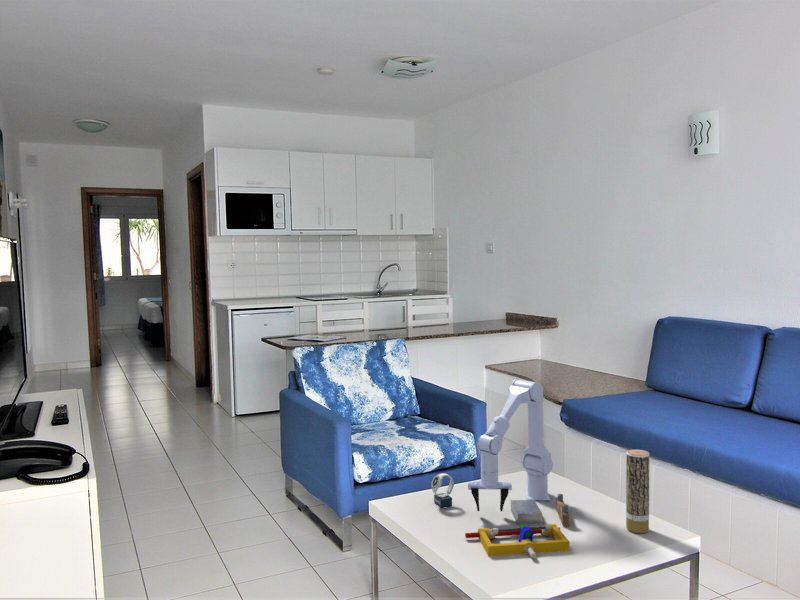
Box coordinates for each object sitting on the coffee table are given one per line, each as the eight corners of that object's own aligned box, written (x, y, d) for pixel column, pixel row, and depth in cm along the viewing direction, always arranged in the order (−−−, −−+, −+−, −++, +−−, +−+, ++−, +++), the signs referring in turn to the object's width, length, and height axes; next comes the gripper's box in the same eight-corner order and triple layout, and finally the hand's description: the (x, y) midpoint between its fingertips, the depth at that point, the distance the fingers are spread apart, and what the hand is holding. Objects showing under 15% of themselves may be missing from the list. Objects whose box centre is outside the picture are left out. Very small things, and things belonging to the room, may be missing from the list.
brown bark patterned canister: (653, 530, 213) (653, 453, 211) (640, 536, 209) (640, 457, 207) (634, 523, 219) (635, 448, 217) (621, 529, 215) (622, 452, 213)
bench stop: (556, 509, 232) (556, 492, 232) (562, 509, 232) (562, 492, 232) (562, 526, 217) (562, 508, 217) (569, 526, 217) (569, 508, 217)
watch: (429, 504, 239) (428, 473, 238) (449, 500, 242) (449, 470, 241) (435, 509, 234) (435, 478, 233) (456, 505, 237) (456, 475, 236)
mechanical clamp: (464, 519, 210) (557, 513, 213) (464, 539, 211) (557, 533, 214) (477, 544, 192) (578, 537, 195) (477, 565, 193) (578, 558, 196)
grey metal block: (510, 511, 232) (510, 500, 231) (533, 511, 232) (533, 499, 232) (517, 525, 220) (517, 513, 219) (542, 525, 220) (542, 513, 220)
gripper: (467, 474, 222) (468, 514, 223) (512, 474, 221) (512, 515, 222) (467, 467, 229) (467, 506, 230) (510, 467, 228) (510, 507, 229)
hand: (489, 510), depth 227 cm, fingers open, 7 cm apart
